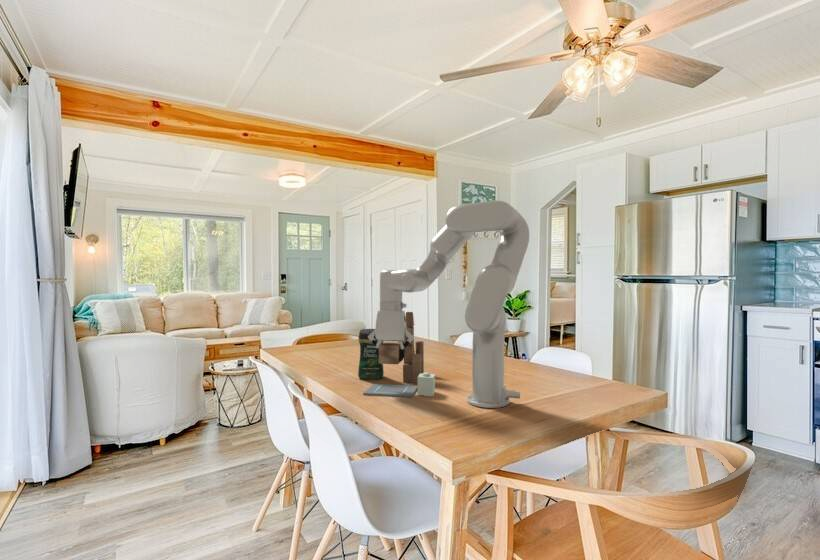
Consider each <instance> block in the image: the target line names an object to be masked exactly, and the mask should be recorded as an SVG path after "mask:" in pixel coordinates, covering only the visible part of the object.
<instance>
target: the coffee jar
mask: <svg viewBox="0 0 820 560" xmlns="http://www.w3.org/2000/svg"><path fill="white" fill-rule="evenodd" d="M374 330H375V328H362V329H360V330H359V332H358V333H359V334H358V343H359V348H360V349H359V361H358V363H359V364H358V374H357V377H358V378H359V379H363V380H378V379H382V378H384V375H385V374H384V373H385V372H384V364H379V360H378V357H377V348H376V346H375V345H374V344H373V343H372V342H371V341H370V339H369V338H368V336H369V335H370V334H371V333H372V332H373V331H374ZM374 339H376V338H375V335H374ZM376 340H377V339H376ZM377 341H378V340H377Z"/></svg>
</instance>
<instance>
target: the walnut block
mask: <svg viewBox="0 0 820 560" xmlns="http://www.w3.org/2000/svg"><path fill="white" fill-rule="evenodd" d="M399 350H400V345H399V343H398V342H392V341H383V343H382V344H380V345H379V364H383V365H399V364H400V363H401V362H402V361H399Z"/></svg>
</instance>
